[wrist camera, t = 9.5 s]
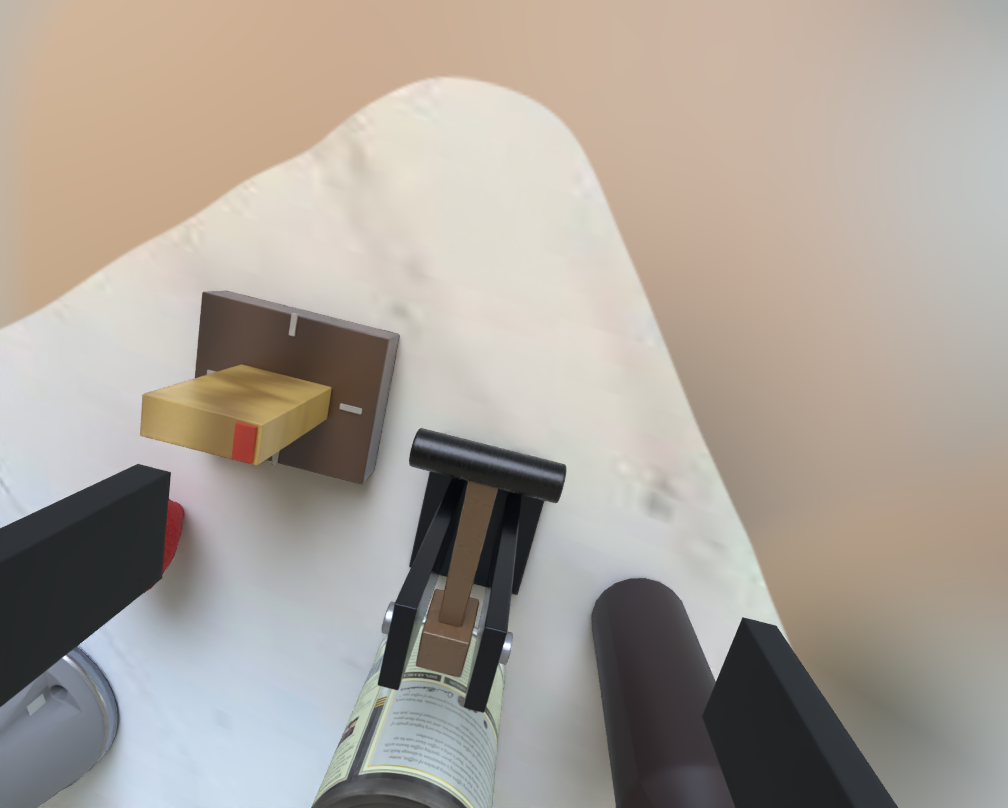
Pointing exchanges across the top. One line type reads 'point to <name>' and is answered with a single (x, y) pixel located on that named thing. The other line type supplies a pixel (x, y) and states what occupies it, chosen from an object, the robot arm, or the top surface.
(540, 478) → the door handle
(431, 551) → the bracket
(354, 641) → the top surface
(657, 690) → the bottle
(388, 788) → the coffee can
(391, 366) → the plate
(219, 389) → the thumb turn
